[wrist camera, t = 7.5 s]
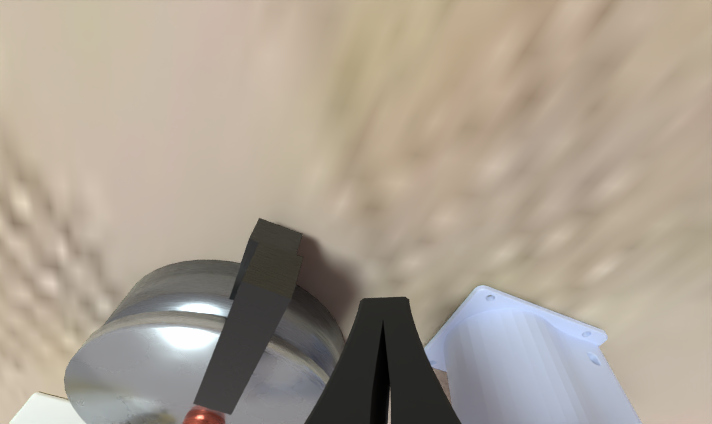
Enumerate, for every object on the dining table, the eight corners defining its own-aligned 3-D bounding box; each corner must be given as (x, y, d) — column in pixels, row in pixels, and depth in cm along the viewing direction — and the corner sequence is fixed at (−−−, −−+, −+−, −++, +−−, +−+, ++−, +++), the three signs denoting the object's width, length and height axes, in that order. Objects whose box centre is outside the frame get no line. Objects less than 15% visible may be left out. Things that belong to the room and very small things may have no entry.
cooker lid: (292, 483, 29) (284, 526, 27) (74, 424, 27) (45, 466, 24) (444, 308, 18) (452, 357, 16) (90, 171, 15) (38, 207, 13)
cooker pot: (304, 425, 33) (295, 476, 29) (117, 371, 30) (83, 422, 27) (414, 263, 22) (420, 316, 19) (139, 159, 20) (89, 199, 16)
